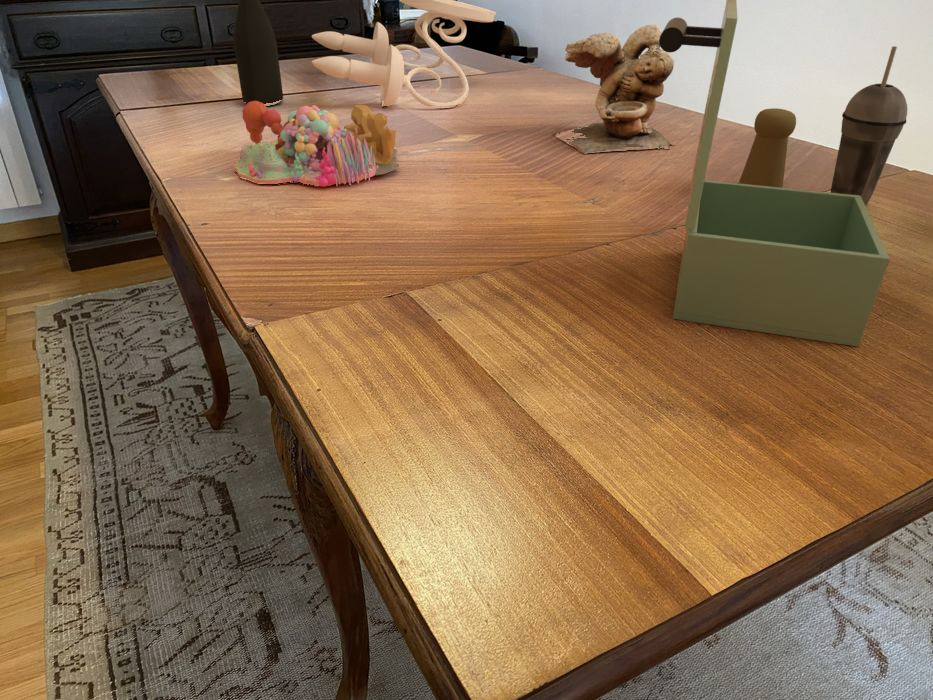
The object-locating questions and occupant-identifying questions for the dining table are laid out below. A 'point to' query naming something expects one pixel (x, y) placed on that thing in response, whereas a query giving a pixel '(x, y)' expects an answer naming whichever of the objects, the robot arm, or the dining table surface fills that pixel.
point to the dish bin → (781, 262)
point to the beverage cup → (868, 136)
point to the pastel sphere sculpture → (316, 146)
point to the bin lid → (723, 40)
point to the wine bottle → (256, 54)
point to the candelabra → (389, 60)
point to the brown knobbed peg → (769, 148)
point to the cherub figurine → (623, 88)
